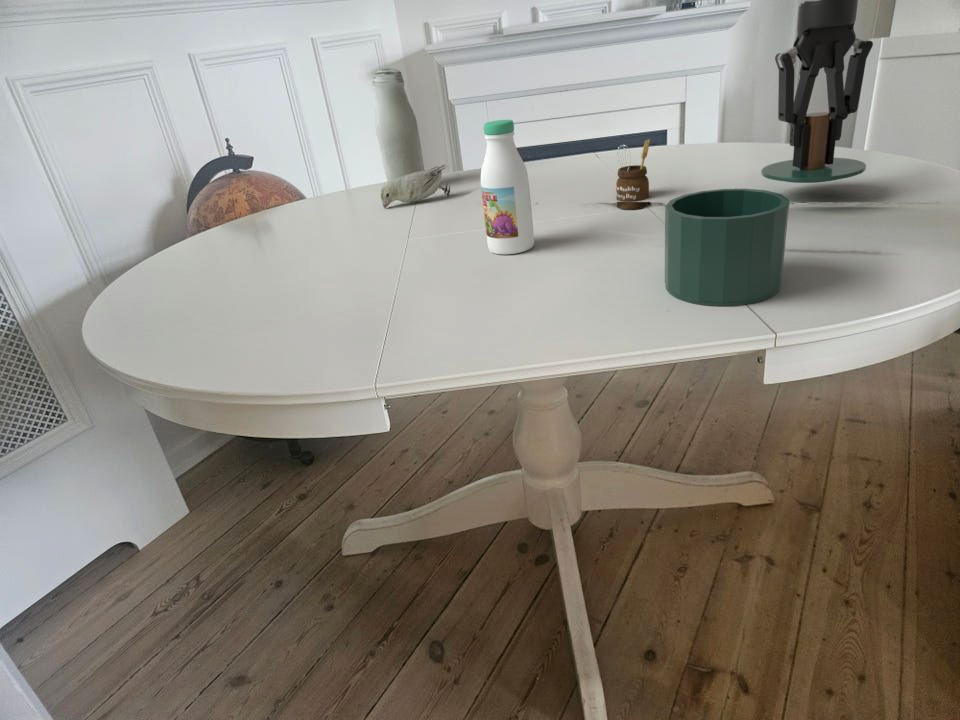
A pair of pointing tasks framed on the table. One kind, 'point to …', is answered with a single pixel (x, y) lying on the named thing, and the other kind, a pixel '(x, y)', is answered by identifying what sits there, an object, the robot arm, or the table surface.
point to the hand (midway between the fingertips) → (812, 164)
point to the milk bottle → (505, 192)
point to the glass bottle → (396, 126)
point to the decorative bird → (413, 186)
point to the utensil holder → (633, 183)
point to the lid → (815, 158)
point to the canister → (725, 246)
